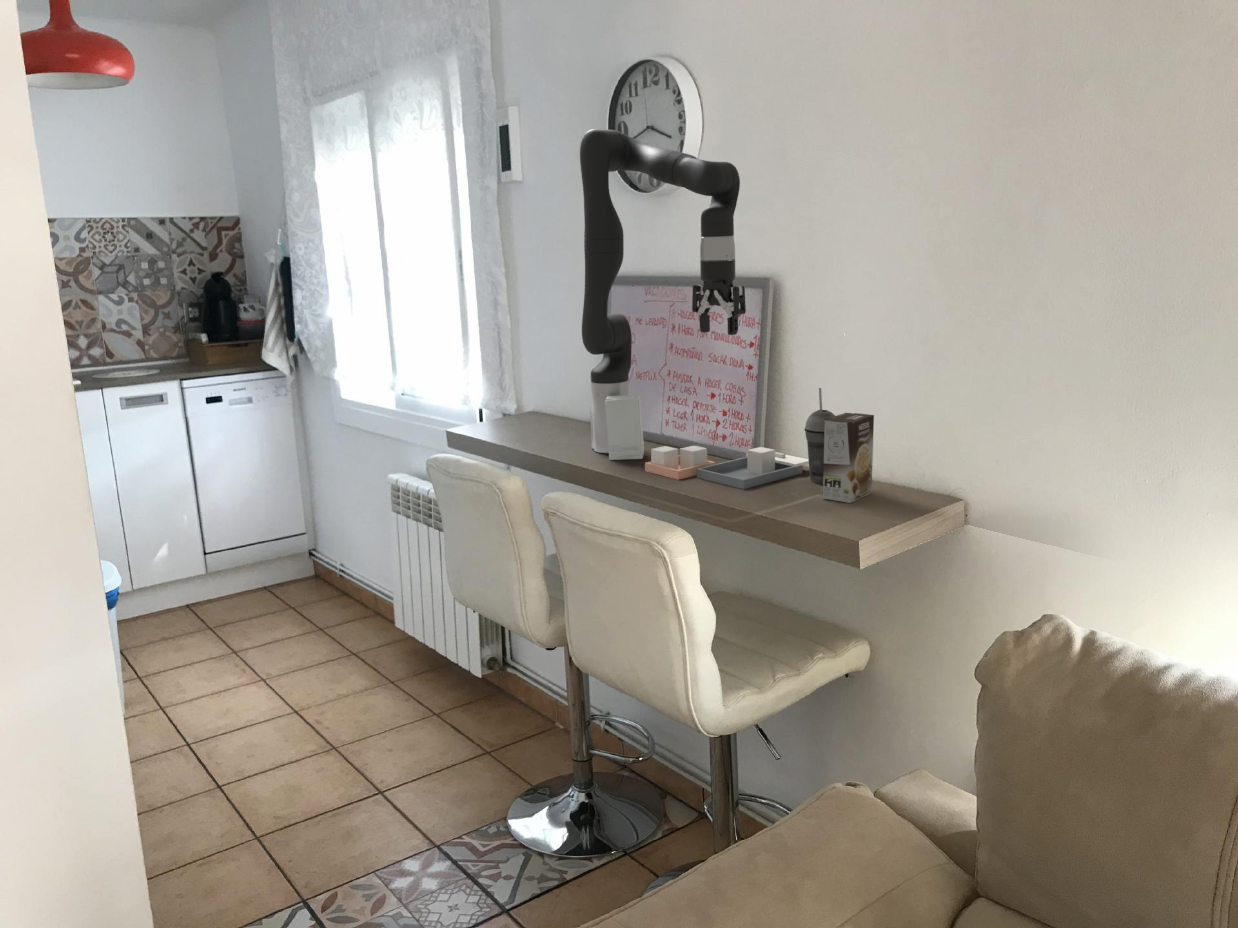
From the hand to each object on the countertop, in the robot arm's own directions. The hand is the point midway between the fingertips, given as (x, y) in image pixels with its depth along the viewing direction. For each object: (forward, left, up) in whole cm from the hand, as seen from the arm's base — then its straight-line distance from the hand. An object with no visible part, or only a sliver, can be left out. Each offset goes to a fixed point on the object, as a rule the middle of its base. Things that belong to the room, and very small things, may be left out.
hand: (718, 333), depth 217 cm
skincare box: (-23, -9, -30) cm, 39 cm away
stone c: (+12, +1, -30) cm, 32 cm away
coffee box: (+36, 0, -30) cm, 47 cm away
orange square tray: (-2, -10, -30) cm, 32 cm away
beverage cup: (+26, +4, -30) cm, 40 cm away
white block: (-4, -13, -30) cm, 32 cm away
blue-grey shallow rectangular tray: (+12, -2, -30) cm, 32 cm away
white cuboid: (0, -8, -30) cm, 31 cm away
